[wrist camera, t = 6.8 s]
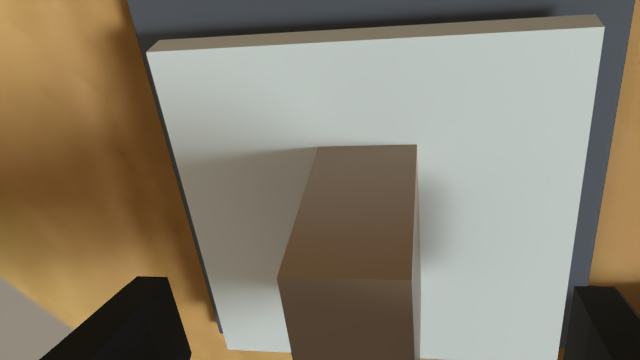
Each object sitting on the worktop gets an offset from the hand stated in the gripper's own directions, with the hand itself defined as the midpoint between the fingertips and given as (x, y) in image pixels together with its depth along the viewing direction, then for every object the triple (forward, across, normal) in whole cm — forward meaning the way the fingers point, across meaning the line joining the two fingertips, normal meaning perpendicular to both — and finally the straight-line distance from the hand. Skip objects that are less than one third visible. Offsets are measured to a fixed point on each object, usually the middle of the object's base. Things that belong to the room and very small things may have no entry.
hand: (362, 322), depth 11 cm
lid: (+4, 0, 0) cm, 4 cm away
